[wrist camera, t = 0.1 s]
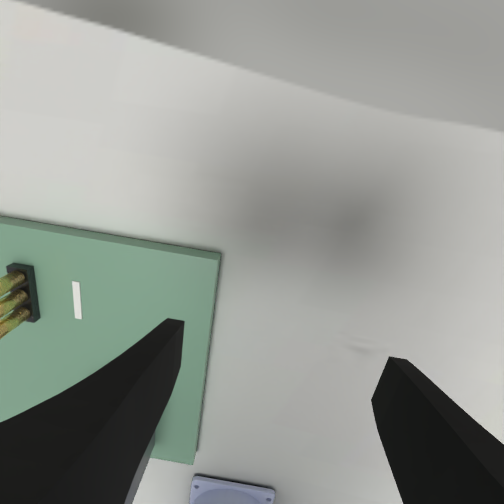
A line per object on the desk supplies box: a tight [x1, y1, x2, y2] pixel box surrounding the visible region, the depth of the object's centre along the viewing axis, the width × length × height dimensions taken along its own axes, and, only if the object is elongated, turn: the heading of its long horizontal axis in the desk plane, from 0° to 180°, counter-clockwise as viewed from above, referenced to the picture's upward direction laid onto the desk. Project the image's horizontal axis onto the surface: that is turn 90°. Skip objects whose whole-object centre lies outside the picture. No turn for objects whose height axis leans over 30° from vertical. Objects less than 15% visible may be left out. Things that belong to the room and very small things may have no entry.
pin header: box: [0, 263, 41, 339], centre depth 19 cm, size 4×1×4 cm, turn 171°
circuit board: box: [0, 216, 221, 465], centre depth 23 cm, size 20×18×1 cm
